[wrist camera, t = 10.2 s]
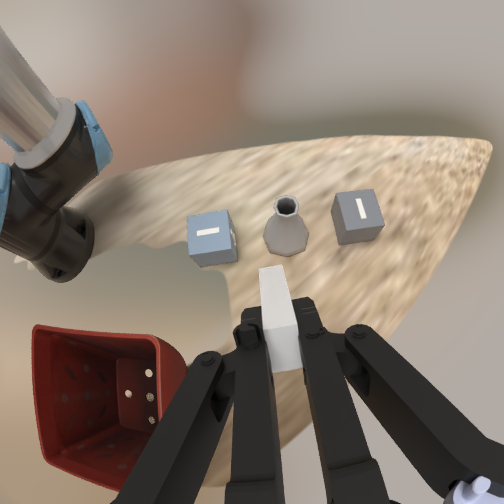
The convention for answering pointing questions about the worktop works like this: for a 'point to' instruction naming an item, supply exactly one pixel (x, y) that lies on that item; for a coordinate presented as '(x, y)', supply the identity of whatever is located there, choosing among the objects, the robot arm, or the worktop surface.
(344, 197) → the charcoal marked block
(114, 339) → the plant pot
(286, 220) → the flask
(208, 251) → the slate-blue marked block
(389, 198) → the worktop surface
